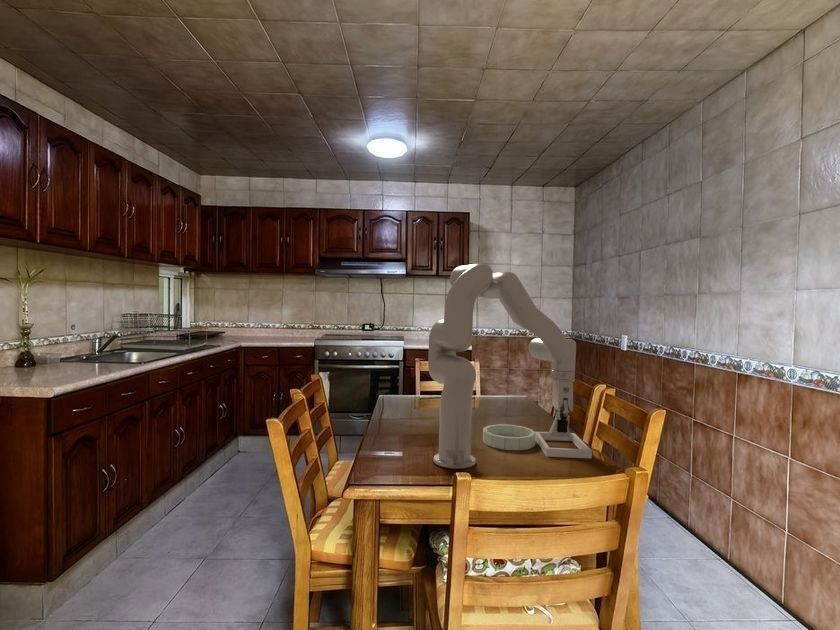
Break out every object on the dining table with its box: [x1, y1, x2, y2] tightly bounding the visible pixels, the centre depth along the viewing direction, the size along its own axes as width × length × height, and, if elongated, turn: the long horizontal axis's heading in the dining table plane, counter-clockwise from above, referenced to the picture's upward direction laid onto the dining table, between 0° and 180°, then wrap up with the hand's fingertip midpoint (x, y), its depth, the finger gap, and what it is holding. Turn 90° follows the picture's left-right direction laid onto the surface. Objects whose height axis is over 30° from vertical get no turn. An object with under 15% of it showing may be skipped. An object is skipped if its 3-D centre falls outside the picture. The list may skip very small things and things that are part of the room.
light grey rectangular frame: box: [534, 431, 593, 459], centre depth 156 cm, size 20×14×2 cm
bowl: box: [482, 423, 536, 451], centre depth 161 cm, size 17×17×4 cm
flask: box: [548, 407, 571, 438], centre depth 155 cm, size 7×7×10 cm
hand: (559, 429), depth 155 cm, fingers closed on flask, 4 cm apart
